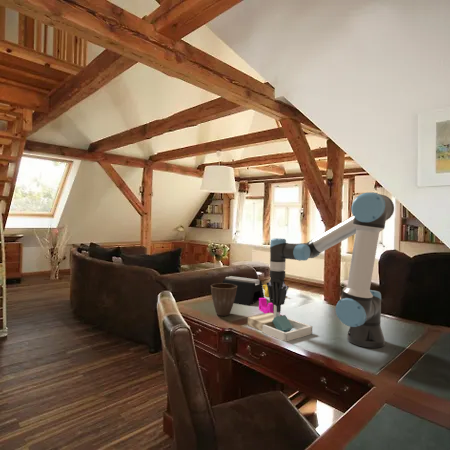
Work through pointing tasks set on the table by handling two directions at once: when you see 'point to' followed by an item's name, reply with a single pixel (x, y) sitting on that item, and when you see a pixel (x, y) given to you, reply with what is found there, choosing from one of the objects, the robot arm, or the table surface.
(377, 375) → the table surface
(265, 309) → the magenta notched bracket
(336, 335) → the table surface
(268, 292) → the teapot
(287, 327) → the teal rectangular block
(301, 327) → the box
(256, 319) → the plate
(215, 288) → the plant pot
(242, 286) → the device stand
